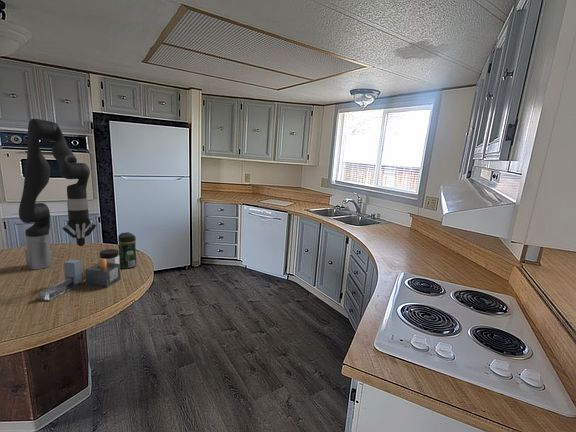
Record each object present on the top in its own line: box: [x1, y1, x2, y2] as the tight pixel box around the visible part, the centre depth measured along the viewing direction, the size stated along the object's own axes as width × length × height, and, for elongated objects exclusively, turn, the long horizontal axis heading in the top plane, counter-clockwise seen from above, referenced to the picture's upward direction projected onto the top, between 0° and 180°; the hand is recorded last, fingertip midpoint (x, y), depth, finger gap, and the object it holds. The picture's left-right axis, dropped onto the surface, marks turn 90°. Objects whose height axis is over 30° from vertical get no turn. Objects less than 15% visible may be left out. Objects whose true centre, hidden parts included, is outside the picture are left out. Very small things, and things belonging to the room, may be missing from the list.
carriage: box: [63, 258, 83, 285], centre depth 137 cm, size 5×4×10 cm
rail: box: [35, 272, 86, 302], centre depth 132 cm, size 6×21×4 cm, turn 175°
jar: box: [98, 248, 120, 264], centre depth 152 cm, size 9×8×12 cm
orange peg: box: [98, 259, 107, 268], centre depth 141 cm, size 3×3×8 cm
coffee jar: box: [117, 231, 137, 269], centre depth 163 cm, size 10×8×19 cm
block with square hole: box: [85, 262, 122, 288], centre depth 142 cm, size 10×10×8 cm
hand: (80, 245), depth 135 cm, fingers closed
